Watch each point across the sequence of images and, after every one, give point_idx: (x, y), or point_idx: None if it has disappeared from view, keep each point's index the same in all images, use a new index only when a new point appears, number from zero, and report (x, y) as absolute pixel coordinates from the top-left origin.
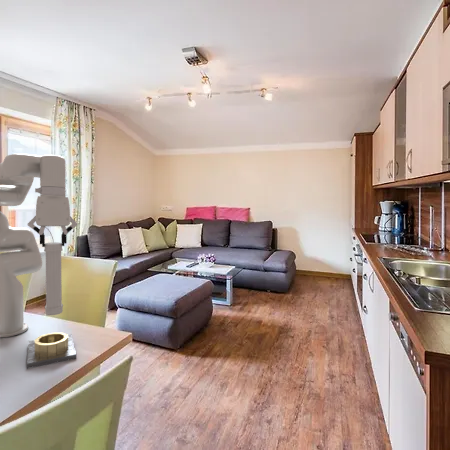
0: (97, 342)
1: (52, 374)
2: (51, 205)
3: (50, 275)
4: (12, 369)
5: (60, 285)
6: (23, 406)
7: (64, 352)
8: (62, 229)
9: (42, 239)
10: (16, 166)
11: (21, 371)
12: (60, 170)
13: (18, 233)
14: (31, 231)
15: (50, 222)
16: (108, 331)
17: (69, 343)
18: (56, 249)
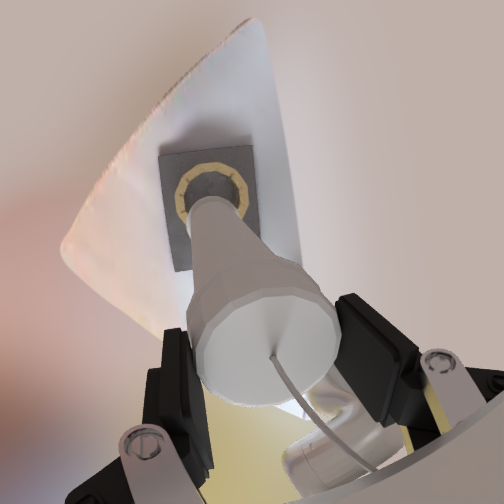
0: (117, 227)
1: (201, 104)
2: None
3: (240, 224)
4: (274, 151)
5: (194, 231)
6: (239, 28)
7: (182, 172)
8: (192, 485)
9: (388, 322)
10: None
11: (258, 136)
12: None
13: None
14: None
15: (477, 490)
16: (99, 282)
17: (174, 219)
18: (231, 273)
